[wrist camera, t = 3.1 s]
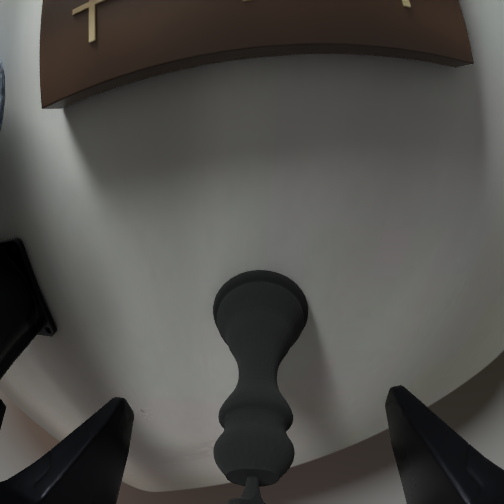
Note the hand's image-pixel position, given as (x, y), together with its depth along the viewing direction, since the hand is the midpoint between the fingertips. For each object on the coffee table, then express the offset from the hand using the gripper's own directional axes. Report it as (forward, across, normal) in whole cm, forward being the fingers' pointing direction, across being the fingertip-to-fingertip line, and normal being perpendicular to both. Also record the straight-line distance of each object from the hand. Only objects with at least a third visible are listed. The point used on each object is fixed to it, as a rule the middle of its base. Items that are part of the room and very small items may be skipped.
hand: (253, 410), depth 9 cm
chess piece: (+6, 0, 0) cm, 6 cm away
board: (+6, -1, -21) cm, 22 cm away
